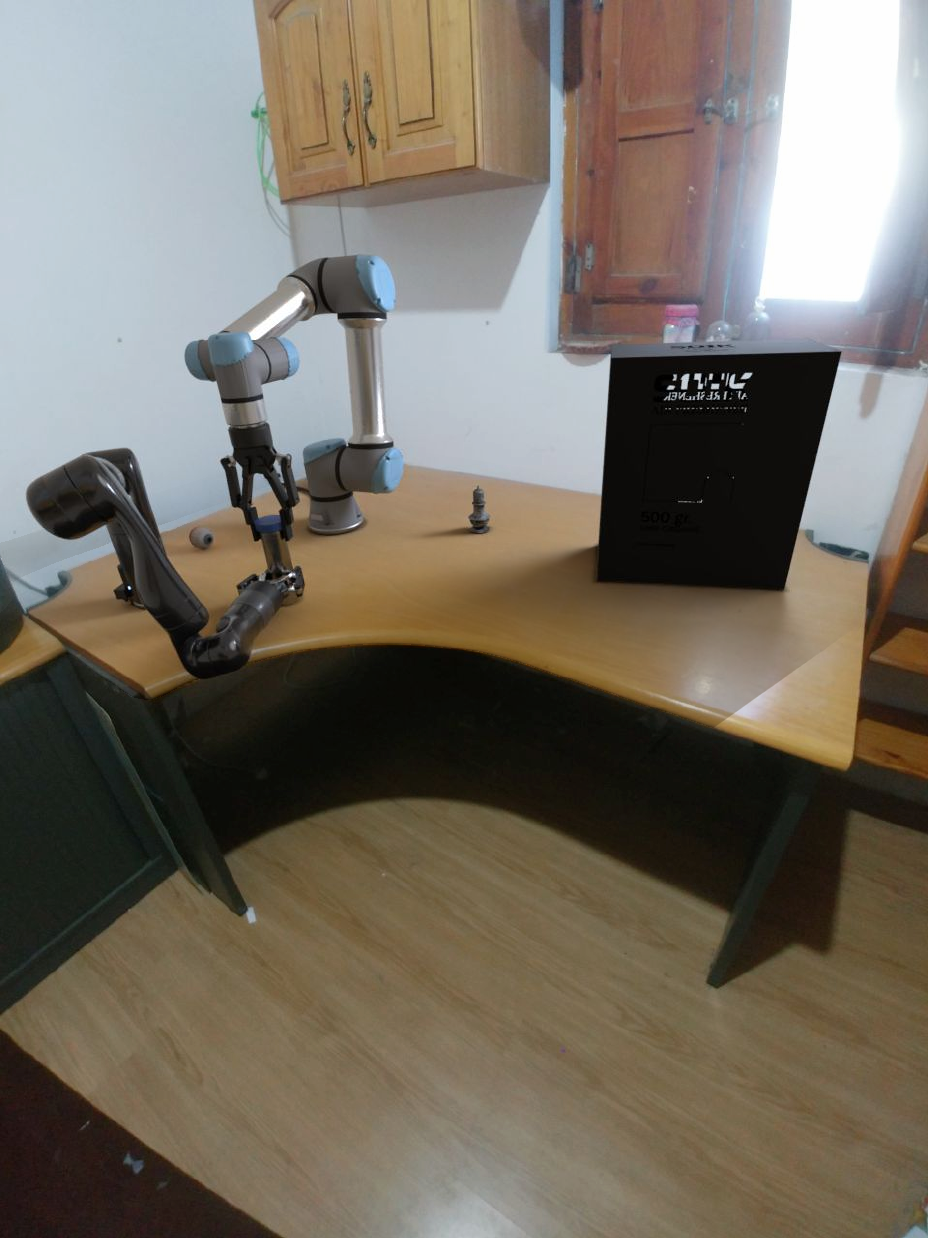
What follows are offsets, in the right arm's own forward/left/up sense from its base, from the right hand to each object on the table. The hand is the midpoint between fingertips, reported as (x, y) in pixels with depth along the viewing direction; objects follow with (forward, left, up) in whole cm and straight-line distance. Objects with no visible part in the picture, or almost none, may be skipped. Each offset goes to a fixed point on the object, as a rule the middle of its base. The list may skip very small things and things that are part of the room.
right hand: (273, 538), depth 124 cm
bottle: (0, 0, -14) cm, 14 cm away
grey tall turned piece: (-3, +55, -14) cm, 57 cm away
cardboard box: (+46, +75, -14) cm, 90 cm away
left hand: (-2, +2, -8) cm, 9 cm away
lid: (0, 0, +4) cm, 4 cm away
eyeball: (-43, -6, -14) cm, 46 cm away
